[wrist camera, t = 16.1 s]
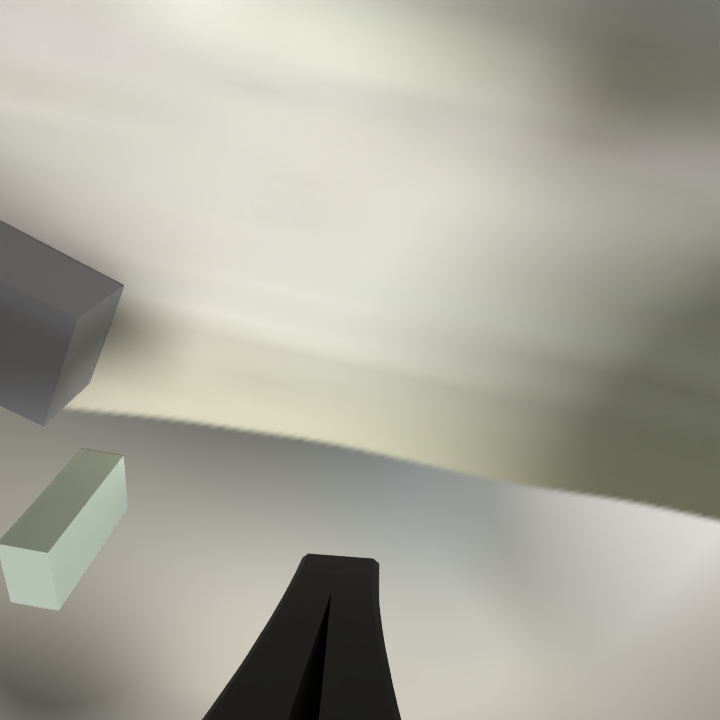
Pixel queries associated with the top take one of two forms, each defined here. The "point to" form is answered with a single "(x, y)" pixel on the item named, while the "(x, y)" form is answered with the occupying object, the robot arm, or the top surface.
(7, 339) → the grey notched block
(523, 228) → the top surface
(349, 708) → the robot arm
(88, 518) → the pale green rectangular bar
